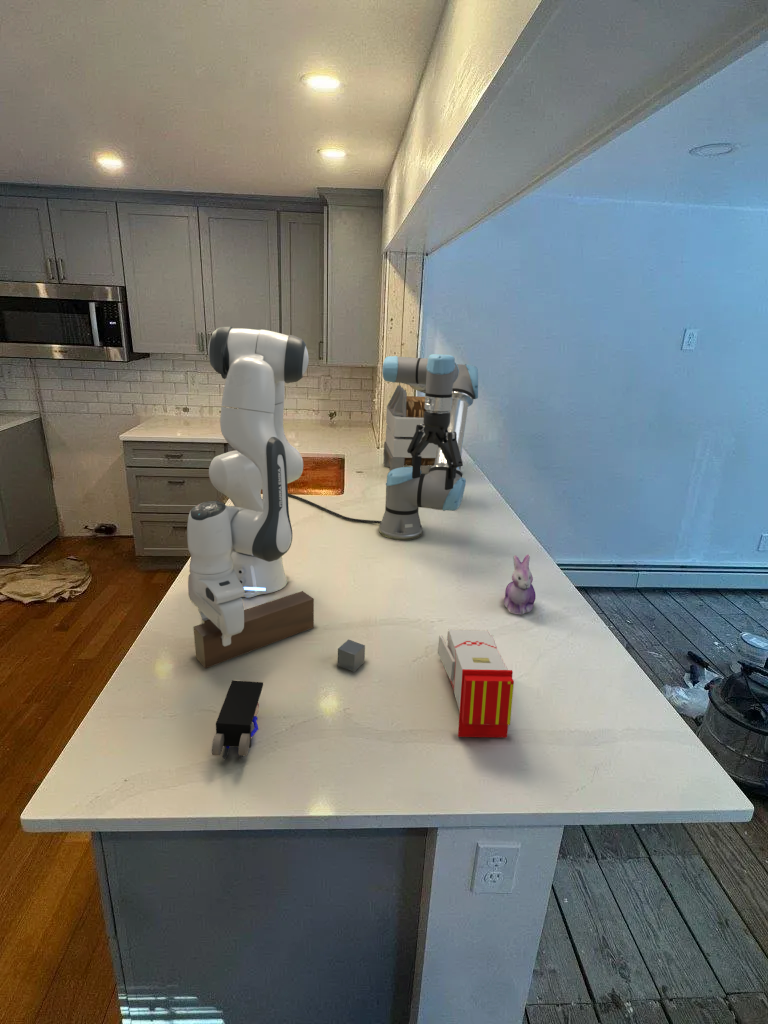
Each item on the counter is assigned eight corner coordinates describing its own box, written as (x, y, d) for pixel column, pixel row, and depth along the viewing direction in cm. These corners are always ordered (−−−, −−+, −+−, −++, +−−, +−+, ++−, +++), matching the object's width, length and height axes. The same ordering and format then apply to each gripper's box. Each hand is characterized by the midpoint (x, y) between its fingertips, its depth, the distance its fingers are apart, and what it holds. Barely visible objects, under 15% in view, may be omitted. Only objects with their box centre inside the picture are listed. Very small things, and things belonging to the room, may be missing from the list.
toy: (488, 613, 130) (523, 677, 101) (484, 667, 133) (517, 744, 104) (435, 612, 130) (455, 676, 101) (432, 666, 133) (451, 743, 103)
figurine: (518, 619, 147) (525, 567, 142) (493, 601, 156) (499, 551, 151) (545, 612, 151) (553, 561, 146) (520, 595, 160) (527, 546, 155)
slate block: (337, 665, 125) (337, 648, 124) (348, 656, 129) (348, 639, 127) (354, 672, 123) (354, 654, 122) (364, 662, 127) (365, 645, 125)
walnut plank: (195, 657, 126) (193, 626, 123) (302, 619, 143) (302, 590, 140) (205, 668, 122) (203, 636, 119) (313, 627, 140) (313, 598, 137)
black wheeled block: (251, 773, 97) (266, 707, 110) (248, 742, 94) (264, 678, 107) (211, 773, 97) (231, 707, 110) (207, 741, 93) (228, 677, 107)
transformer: (382, 463, 289) (386, 382, 275) (445, 464, 293) (451, 384, 279) (390, 482, 257) (394, 392, 243) (460, 483, 261) (468, 394, 247)
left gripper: (178, 564, 125) (183, 618, 130) (219, 601, 111) (223, 661, 116) (205, 557, 129) (209, 610, 134) (248, 592, 115) (251, 650, 119)
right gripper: (398, 405, 166) (394, 475, 174) (461, 419, 149) (454, 496, 156) (416, 403, 171) (412, 471, 178) (480, 417, 154) (472, 491, 161)
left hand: (216, 634), depth 125 cm, fingers open, 8 cm apart
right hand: (432, 483), depth 167 cm, fingers open, 13 cm apart
